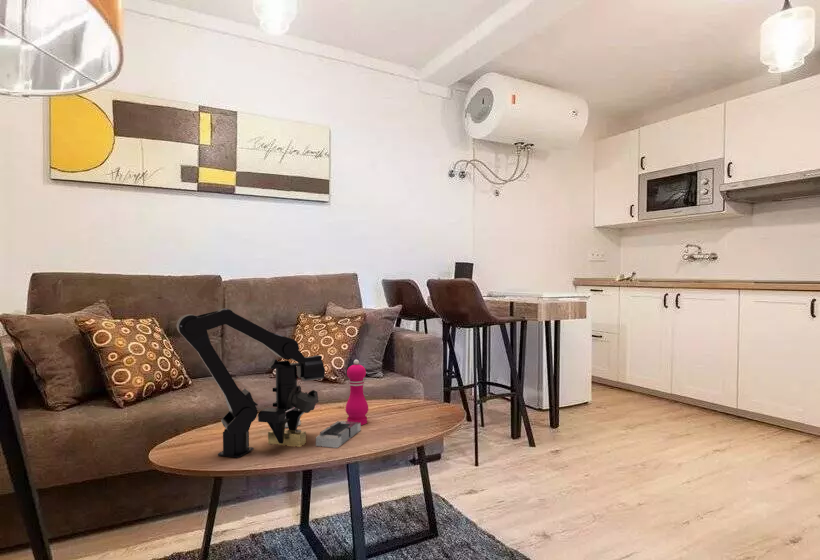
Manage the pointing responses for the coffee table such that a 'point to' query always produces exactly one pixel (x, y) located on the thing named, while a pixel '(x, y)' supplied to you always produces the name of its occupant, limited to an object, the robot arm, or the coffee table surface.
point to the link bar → (289, 438)
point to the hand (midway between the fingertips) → (287, 439)
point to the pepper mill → (356, 394)
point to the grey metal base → (337, 434)
